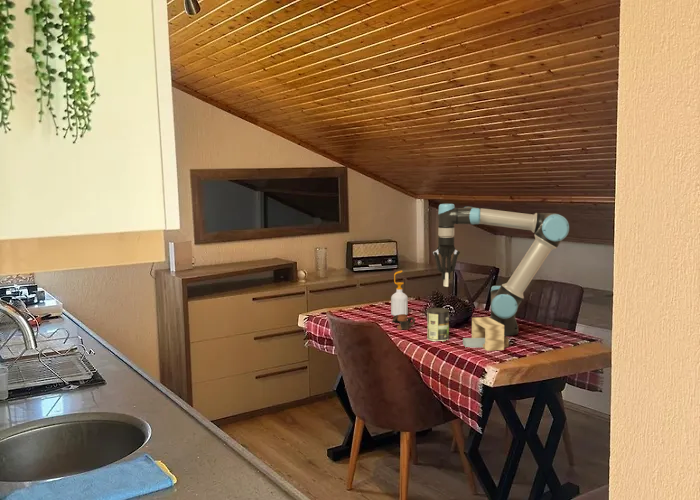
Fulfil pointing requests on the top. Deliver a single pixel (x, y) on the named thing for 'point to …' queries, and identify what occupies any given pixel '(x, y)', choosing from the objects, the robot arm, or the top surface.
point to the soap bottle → (399, 300)
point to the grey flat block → (473, 342)
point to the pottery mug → (403, 321)
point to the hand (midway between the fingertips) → (445, 286)
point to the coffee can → (438, 324)
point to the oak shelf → (489, 333)
